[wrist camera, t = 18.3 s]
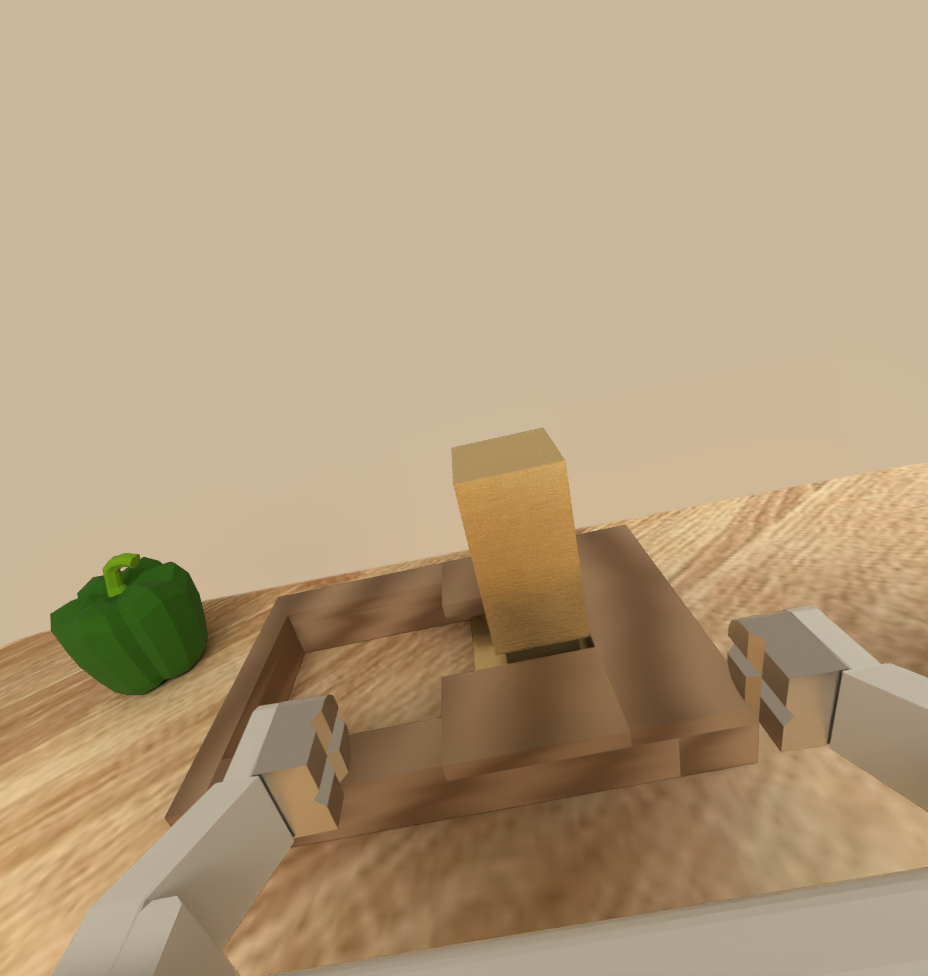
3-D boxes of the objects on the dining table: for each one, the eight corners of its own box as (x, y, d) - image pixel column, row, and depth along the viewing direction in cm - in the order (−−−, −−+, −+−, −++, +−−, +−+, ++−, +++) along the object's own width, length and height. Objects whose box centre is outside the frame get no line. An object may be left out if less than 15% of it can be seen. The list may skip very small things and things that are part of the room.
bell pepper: (81, 699, 36) (1, 589, 32) (180, 624, 42) (124, 525, 38) (144, 727, 32) (61, 605, 28) (244, 639, 38) (188, 530, 34)
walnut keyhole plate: (198, 864, 23) (164, 818, 21) (294, 633, 37) (278, 597, 36) (757, 762, 21) (759, 706, 20) (629, 565, 36) (625, 524, 35)
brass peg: (484, 736, 26) (418, 506, 20) (475, 634, 33) (425, 445, 27) (634, 708, 25) (609, 465, 20) (591, 611, 33) (564, 413, 27)
